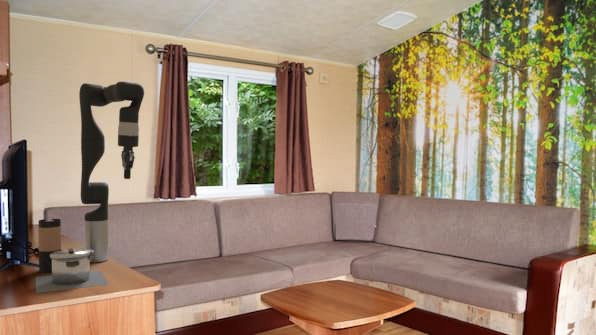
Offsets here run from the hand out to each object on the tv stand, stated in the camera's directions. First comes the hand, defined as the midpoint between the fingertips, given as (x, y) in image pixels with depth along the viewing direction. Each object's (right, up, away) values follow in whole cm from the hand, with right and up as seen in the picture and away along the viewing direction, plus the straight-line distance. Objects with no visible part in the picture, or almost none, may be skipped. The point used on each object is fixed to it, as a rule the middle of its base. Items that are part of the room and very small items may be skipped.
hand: (127, 178), depth 182 cm
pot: (-14, -36, -16) cm, 42 cm away
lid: (-13, -27, -16) cm, 34 cm away
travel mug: (-29, -36, -3) cm, 46 cm away
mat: (-14, -36, -16) cm, 42 cm away
